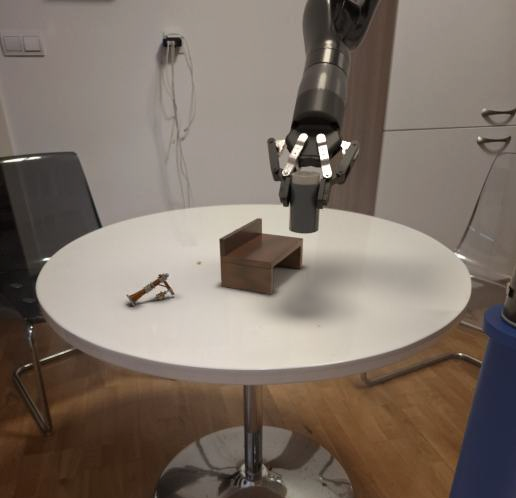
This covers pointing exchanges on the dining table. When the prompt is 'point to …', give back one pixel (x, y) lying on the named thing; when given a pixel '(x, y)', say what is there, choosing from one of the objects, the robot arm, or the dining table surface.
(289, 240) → the shelf
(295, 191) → the salt shaker
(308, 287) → the dining table surface
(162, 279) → the brown slender grey-tipped part
